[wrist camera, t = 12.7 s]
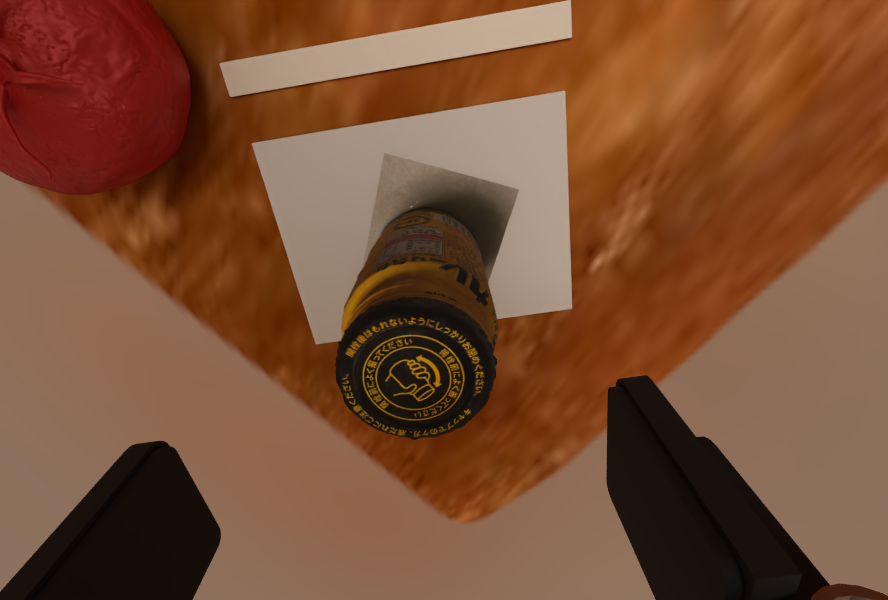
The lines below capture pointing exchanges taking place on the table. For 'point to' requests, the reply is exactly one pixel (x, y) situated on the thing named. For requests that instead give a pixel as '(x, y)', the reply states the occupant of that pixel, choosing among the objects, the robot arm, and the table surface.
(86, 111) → the pomegranate
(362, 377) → the condiment
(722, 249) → the table surface
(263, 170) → the mat
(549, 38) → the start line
